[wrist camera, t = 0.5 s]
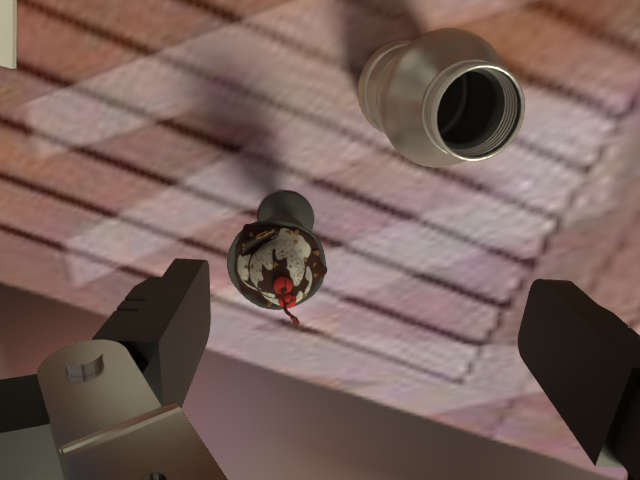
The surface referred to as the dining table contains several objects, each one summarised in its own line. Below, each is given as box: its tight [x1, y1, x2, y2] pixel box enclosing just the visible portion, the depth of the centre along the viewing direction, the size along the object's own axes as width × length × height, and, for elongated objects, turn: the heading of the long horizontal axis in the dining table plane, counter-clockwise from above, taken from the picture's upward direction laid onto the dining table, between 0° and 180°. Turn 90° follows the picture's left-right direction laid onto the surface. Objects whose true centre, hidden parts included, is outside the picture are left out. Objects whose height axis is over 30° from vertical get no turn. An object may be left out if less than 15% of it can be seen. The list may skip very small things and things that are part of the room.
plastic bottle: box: [358, 28, 525, 167], centre depth 27 cm, size 6×7×20 cm
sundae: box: [227, 191, 327, 326], centre depth 33 cm, size 7×7×15 cm
